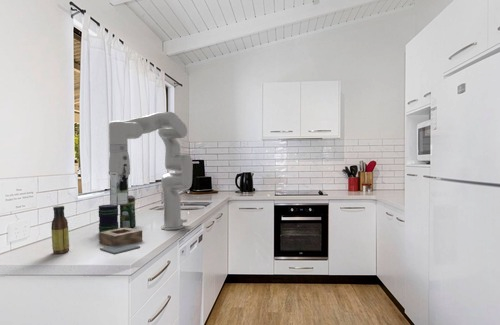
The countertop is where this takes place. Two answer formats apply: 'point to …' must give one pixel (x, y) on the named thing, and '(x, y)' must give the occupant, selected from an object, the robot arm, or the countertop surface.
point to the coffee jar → (128, 213)
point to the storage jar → (108, 217)
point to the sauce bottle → (60, 231)
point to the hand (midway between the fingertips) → (119, 189)
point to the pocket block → (120, 236)
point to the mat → (119, 248)
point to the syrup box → (117, 190)
